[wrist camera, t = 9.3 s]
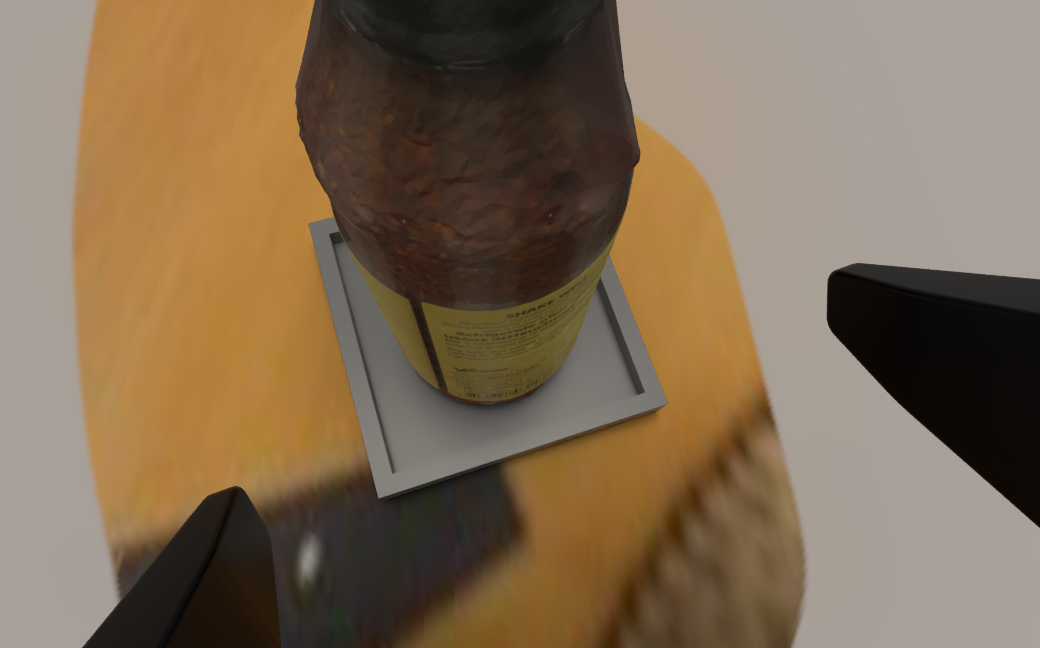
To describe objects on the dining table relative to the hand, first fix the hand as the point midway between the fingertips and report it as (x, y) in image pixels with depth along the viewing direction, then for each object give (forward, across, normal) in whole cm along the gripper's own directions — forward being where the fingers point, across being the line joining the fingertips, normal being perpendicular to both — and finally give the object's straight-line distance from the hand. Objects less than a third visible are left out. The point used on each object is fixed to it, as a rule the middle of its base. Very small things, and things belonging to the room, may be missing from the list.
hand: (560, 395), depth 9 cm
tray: (+13, -1, +6) cm, 15 cm away
